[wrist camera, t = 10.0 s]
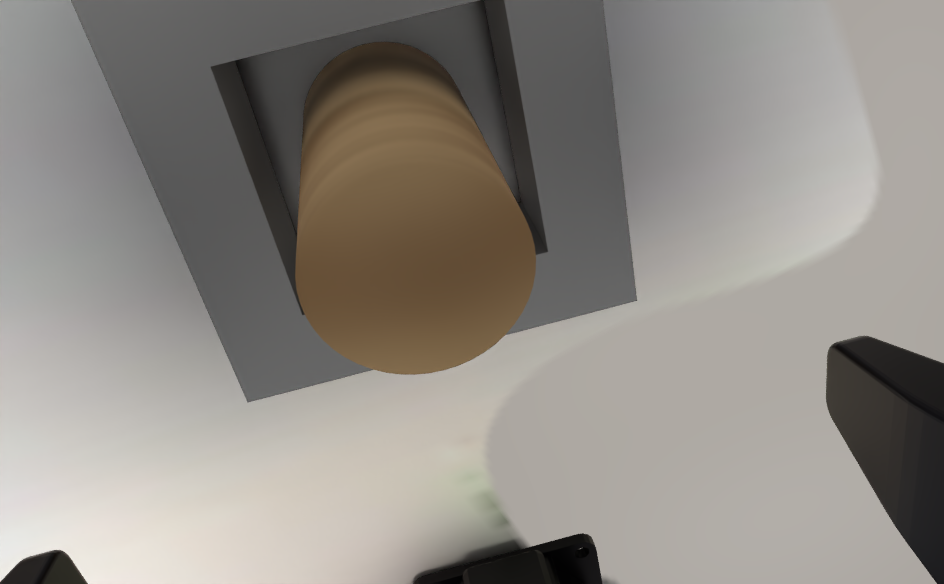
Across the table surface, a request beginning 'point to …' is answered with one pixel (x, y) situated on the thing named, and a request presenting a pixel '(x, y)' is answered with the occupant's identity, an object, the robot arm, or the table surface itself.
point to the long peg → (404, 217)
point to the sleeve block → (259, 196)
